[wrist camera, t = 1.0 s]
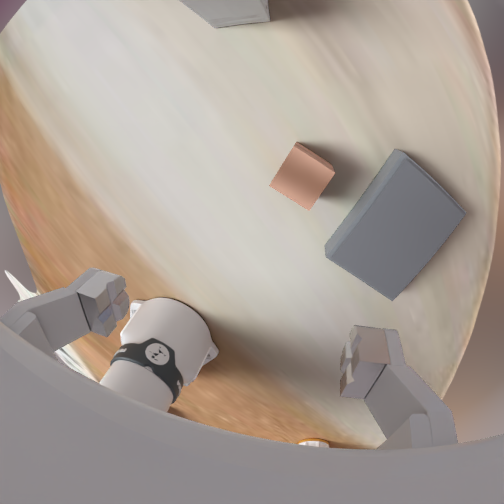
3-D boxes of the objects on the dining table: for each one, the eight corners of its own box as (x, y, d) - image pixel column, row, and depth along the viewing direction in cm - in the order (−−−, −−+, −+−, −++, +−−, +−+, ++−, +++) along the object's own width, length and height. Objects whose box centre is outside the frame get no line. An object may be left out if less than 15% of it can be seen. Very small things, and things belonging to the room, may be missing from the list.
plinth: (387, 287, 38) (393, 303, 35) (324, 245, 37) (325, 259, 34) (455, 204, 31) (468, 214, 27) (394, 148, 30) (404, 152, 26)
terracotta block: (309, 196, 35) (309, 210, 30) (275, 174, 35) (269, 185, 29) (331, 163, 32) (335, 172, 27) (296, 141, 32) (293, 146, 27)
